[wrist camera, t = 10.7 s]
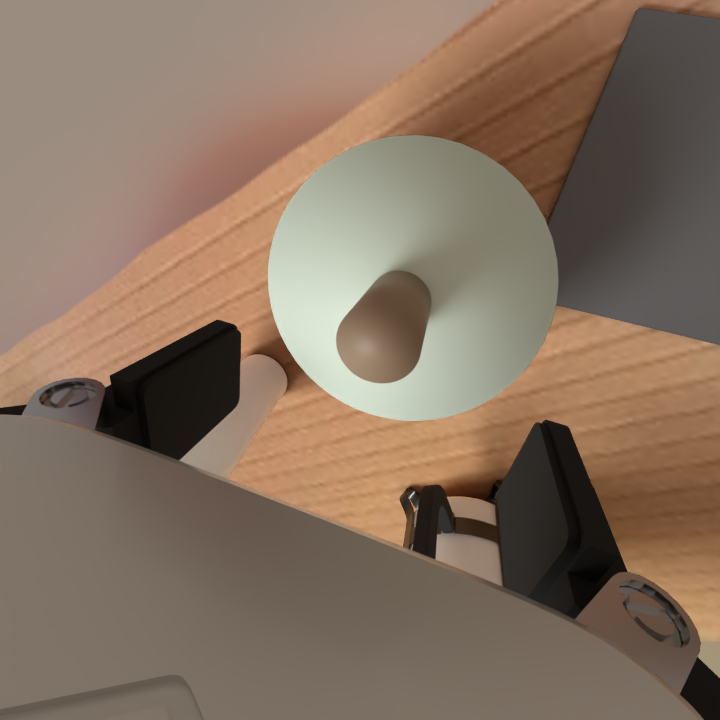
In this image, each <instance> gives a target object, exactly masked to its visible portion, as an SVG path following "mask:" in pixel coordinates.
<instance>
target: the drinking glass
mask: <svg viewBox="0 0 720 720" xmlns="http://www.w3.org/2000/svg"><path fill="white" fill-rule="evenodd" d="M286 389H287V376H286V373H285V371H284V369H283V368H282V367H281V365H280V364H279V363H278V362H277V361H275V360H274V359H272V358H271V357H268V356H266V355H261V354H254V355H250V356H248V357H246V358H244V359H243V360H242V361H240V399H239V403H238V405H237V406H236V408H235V409H234V410H233V411H232V412H231V413H230V414H228V415H227V416H226V417H225V418H224V419H223V420H222V421H221V422H220V423H219V424H218V425H217V426H216V427H215V428H214V429H212V430H211V431H210V432H209V433H208V434H207V435H206V436H205V437H204V438H203V439H202V440H201V441H200V442H199V443H197V444H196V445H195V446H194V447H193V448H192V449H191V450H190V451H189V452H188V453H187V454H186V455H185V456H184V457H183V458H181V459H180V460H179V461H182V462H184V463H187V464H189V465H192V466H195V467H197V468H200V469H203V470H205V471H208V472H211V473H213V474H216V475H219V476H221V477H224V478H226V479H227V478H228V477H229V476H230V474H231V473H232V471H233V470H234V469H235V467H236V466H237V464H238V463H239V461H240V460H241V458H242V457H243V455H244V453H245V452H246V450H247V449H248V447H249V446H250V444H251V442H252V441H253V439H254V438H255V436H256V435H257V433H258V431H259V430H260V428H261V427H262V425H263V424H264V422H265V421H266V419H267V417H268V416H269V414H270V413H271V411H272V410H273V408H274V407H275V405H276V404H277V402H278V401H279V400H280V399H281V398H282V396H283V395H284V393H285V391H286Z"/></svg>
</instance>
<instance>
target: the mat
mask: <svg viewBox="0 0 720 720" xmlns="http://www.w3.org/2000/svg"><path fill="white" fill-rule="evenodd" d="M547 225H548V228H549V231H550V233H551V236H552V239H553V243H554V247H555V252H556V257H557V264H558V293H557V303H556V305H559V306H563V307H567V308H571V309H575V310H579V311H583V312H588V313H592V314H596V315H600V316H604V317H608V318H612V319H616V320H620V321H624V322H628V323H632V324H636V325H641V326H645V327H649V328H653V329H657V330H661V331H665V332H669V333H673V334H677V335H681V336H685V337H689V338H693V339H698V340H702V341H706V342H710V343H714V344H718V345H720V19H717V18H709V17H702V16H695V15H687V14H680V13H672V12H665V11H658V10H650V9H643V8H639V9H638V10H637V11H636V12H635V15H634V17H633V20H632V22H631V24H630V27H629V29H628V32H627V34H626V36H625V39H624V41H623V44H622V46H621V48H620V51H619V53H618V55H617V58H616V60H615V63H614V65H613V67H612V70H611V72H610V75H609V77H608V79H607V82H606V84H605V87H604V89H603V91H602V94H601V96H600V99H599V101H598V103H597V106H596V108H595V111H594V113H593V115H592V118H591V120H590V123H589V125H588V127H587V130H586V132H585V135H584V137H583V139H582V142H581V144H580V147H579V149H578V151H577V154H576V156H575V159H574V161H573V163H572V166H571V168H570V171H569V173H568V175H567V178H566V180H565V183H564V185H563V187H562V190H561V192H560V195H559V197H558V199H557V202H556V204H555V207H554V209H553V211H552V214H551V216H550V219H549V221H548V223H547Z"/></svg>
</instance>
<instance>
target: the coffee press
mask: <svg viewBox="0 0 720 720" xmlns="http://www.w3.org/2000/svg"><path fill="white" fill-rule="evenodd" d="M502 483H503V482H501V481H500V480H497V481H496V482H495V483H494V484H493V486H492V489H491V492H490V494H489V497H488V499H487V500H486V501H483V500H480V499H476V498H471V497H463V496H453V497H447V496H446V494H445V492H444V490H443V488H442V487H441V486H440V485H429V486H425V487H424V488H423V489H422V491H421V494H420V496H419V495H418V493H417V492H416V491H415V490H414V489H412V488H407V489H406V490H405V491H404V493H403V494H402V495H401V496H400V502H401V505H402V507H403V509H404V511H405V514H406V518H407V523H406V531H405V538H404V544H403V547H405V548H407V549H410V550H412V551H415V552H418V553H420V554H423V555H425V556H428V557H430V558H433V559H435V560H438V561H441V562H443V563H446V564H448V565H451V566H453V567H456V568H458V569H460V570H463V571H465V572H468V573H470V574H473V575H475V576H478V577H480V578H483V579H485V580H488V581H490V582H492V583H495V584H497V585H500V586H502V587H505V586H504V573H503V560H502V548H501V535H500V523H499V510H498V493H499V489H500V487H501V485H502ZM409 499H410V500H411V502H412V503H413V505H414V506H415V508H416V509H417V510H416V511H415V512H414V510H413V507H412V505H411V502H410V500H409Z"/></svg>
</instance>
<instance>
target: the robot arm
mask: <svg viewBox="0 0 720 720" xmlns="http://www.w3.org/2000/svg"><path fill="white" fill-rule="evenodd" d="M240 358H241V333H240V331H239V330H237V327H236V326H235V325H234V324H231V323H227V322H224V321H221V320H216V321H214V322H212V323H210V324H208V325H206V326H204V327H202V328H200V329H198V330H196V331H195V332H193V333H191V334H189V335H187V336H185V337H183V338H181V339H179V340H177V341H175V342H173V343H172V344H170V345H168V346H166V347H164V348H162V349H160V350H158V351H156V352H154V353H152V354H151V355H149V356H147V357H145V358H143V359H141V360H139V361H137V362H135V363H133V364H131V365H130V366H128V367H126V368H124V369H122V370H120V371H118V372H116V373H114V374H112V375H110V380H111V385H109V386H108V387H106V388H105V386H104V385H103V384H102V383H101V382H99V381H97V380H94V379H89V378H71V379H64V380H60V381H56V382H53V383H51V384H48V385H46V386H43V387H42V388H40V389H39V390H37V391H36V392H35V393H34V394H33V395H32V397H31V398H30V400H29V402H28V404H27V405H21V406H12V407H4V408H0V720H720V678H719V677H718V676H717V675H716V674H715V673H714V672H712V671H711V670H710V669H709V668H708V667H707V666H706V665H705V664H704V663H703V662H702V661H701V660H700V659H699V658H698V654H699V652H700V645H701V641H700V638H699V635H698V631H697V629H696V627H695V626H694V624H693V622H692V620H691V619H690V617H689V616H688V614H687V613H686V612H685V611H684V609H683V608H682V607H681V606H680V604H679V603H678V602H677V601H676V600H675V599H673V598H672V597H671V596H670V595H669V594H668V593H667V592H666V591H665V590H663V589H662V588H661V587H659V586H658V585H656V584H655V583H654V582H652V581H650V580H648V579H646V578H644V577H642V576H640V575H637V574H634V573H630V572H627V569H626V567H625V564H624V562H623V559H622V557H621V554H620V552H619V549H618V547H617V544H616V542H615V539H614V537H613V534H612V532H611V529H610V527H609V524H608V522H607V519H606V517H605V514H604V512H603V509H602V507H601V504H600V502H599V499H598V497H597V494H596V492H595V489H594V488H593V486H592V484H591V482H590V479H589V477H588V474H587V472H586V469H585V467H584V464H583V462H582V459H581V457H580V454H579V452H578V449H577V447H576V444H575V442H574V439H573V437H572V434H571V432H570V429H569V428H568V427H567V426H565V425H561V424H558V423H555V422H552V421H548V420H545V421H543V422H542V424H541V423H538V422H537V423H535V424H534V426H533V428H532V429H531V431H530V433H529V435H528V437H527V439H526V441H525V442H524V444H523V446H522V448H521V450H520V452H519V453H518V455H517V457H516V459H515V461H514V463H513V465H512V466H511V468H510V470H509V472H508V474H507V476H506V477H505V479H504V481H503V483H502V485H501V487H500V489H499V493H498V510H499V523H500V535H501V548H502V560H503V573H504V586H505V587H502V586H500V585H497V584H495V583H492V582H490V581H488V580H485V579H483V578H480V577H478V576H475V575H473V574H470V573H468V572H465V571H463V570H460V569H458V568H456V567H453V566H451V565H448V564H446V563H443V562H441V561H438V560H435V559H433V558H430V557H428V556H425V555H423V554H420V553H418V552H415V551H412V550H410V549H407V548H405V547H402V546H400V545H397V544H395V543H392V542H389V541H387V540H384V539H382V538H379V537H377V536H374V535H372V534H369V533H367V532H364V531H361V530H359V529H356V528H354V527H351V526H349V525H346V524H343V523H341V522H338V521H336V520H333V519H331V518H328V517H325V516H323V515H320V514H318V513H315V512H312V511H310V510H307V509H305V508H302V507H299V506H297V505H294V504H292V503H289V502H287V501H284V500H281V499H279V498H276V497H273V496H271V495H268V494H266V493H263V492H260V491H258V490H255V489H253V488H250V487H247V486H245V485H242V484H240V483H237V482H234V481H232V480H229V479H226V478H224V477H221V476H219V475H216V474H213V473H211V472H208V471H205V470H203V469H200V468H197V467H195V466H192V465H189V464H187V463H184V462H182V461H179V460H180V459H181V458H183V457H184V456H185V455H186V454H187V453H188V452H189V451H190V450H191V449H192V448H193V447H194V446H195V445H196V444H197V443H199V442H200V441H201V440H202V439H203V438H204V437H205V436H206V435H207V434H208V433H209V432H210V431H211V430H212V429H214V428H215V427H216V426H217V425H218V424H219V423H220V422H221V421H222V420H223V419H224V418H225V417H226V416H227V415H228V414H230V413H231V412H232V411H233V410H234V409H235V408H236V406H237V405H238V403H239V399H240Z"/></svg>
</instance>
